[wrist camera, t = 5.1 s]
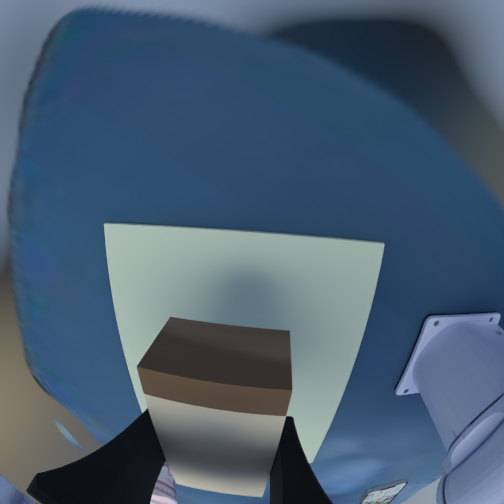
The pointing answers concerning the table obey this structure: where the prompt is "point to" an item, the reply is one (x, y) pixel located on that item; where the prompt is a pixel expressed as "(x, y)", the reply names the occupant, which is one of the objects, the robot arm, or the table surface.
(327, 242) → the mat
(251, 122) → the table surface
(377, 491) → the smartphone
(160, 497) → the teacup
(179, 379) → the brown-topped white block
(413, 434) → the table surface
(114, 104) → the table surface
